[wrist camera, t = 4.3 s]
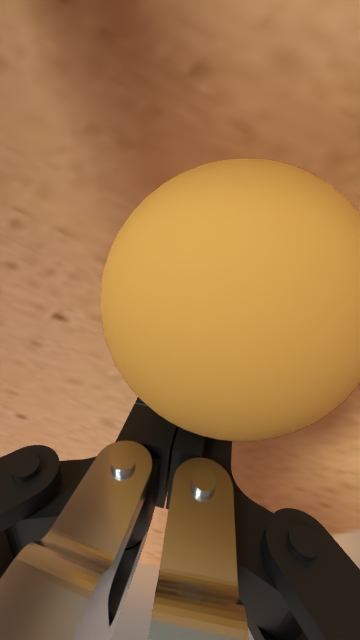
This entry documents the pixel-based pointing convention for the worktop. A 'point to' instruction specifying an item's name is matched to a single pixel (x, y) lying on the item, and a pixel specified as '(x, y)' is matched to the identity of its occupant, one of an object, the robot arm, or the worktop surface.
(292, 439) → the worktop surface
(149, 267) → the ball
